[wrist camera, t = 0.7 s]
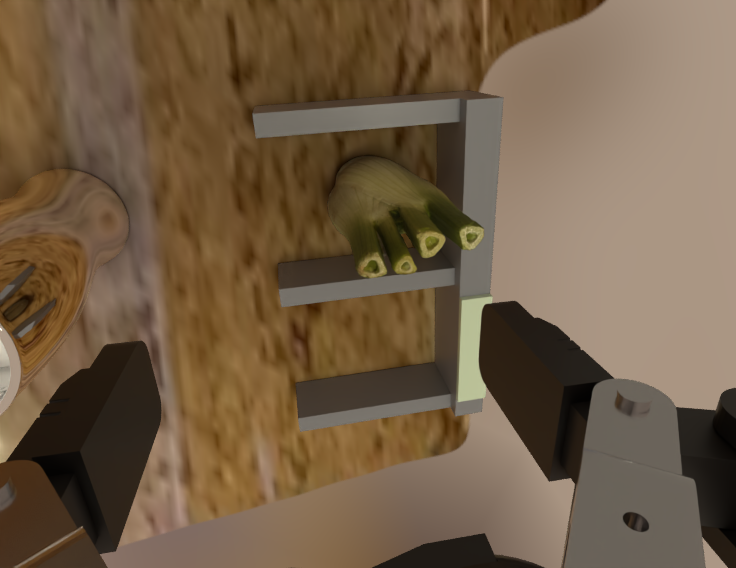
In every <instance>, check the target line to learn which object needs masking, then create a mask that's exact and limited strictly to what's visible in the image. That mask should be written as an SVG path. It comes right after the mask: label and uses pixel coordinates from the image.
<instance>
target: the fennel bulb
mask: <svg viewBox="0 0 736 568" xmlns="http://www.w3.org/2000/svg"><path fill="white" fill-rule="evenodd" d="M327 205H328V214H329V217H330V219H331V221H332V223H333V224H334V226H335V228H336V229H337V230H338V231H339V232H340V233H341V234H342V235H344V236H345V237H346V238H347V239H348V241H349V242H350V245H351V248H352V252H353V257H354V261H355V269H356V271H357V272H358V274H359V276H362V277H365V278H378V277H381V276H384V275H385V274H387V266H386V264H385V259H384V256H385V255H387V256H388V258H389V262H390V263H391V267H392V269H393V270H394V271H395V272H396V273H397V274H401V275H407V274H413V273H415V272H416V270H417V267H416V265H415V263H414V261H413V259H412V256H411V255H410V253H409V251H408V248H407V246H406V244H405V242H404V240H403V237H402V236H401V234H404V233H405V234H406V235H407V236H408V237H409V239H410V240H411V242H412V244H413V246H414V247H415V248H416V250H417V251H418V253H419V254H420V255H421V256H422V258H429V257H432V256H434V255H435V254H436V253H437V252H438V251H439V250H440V249H441V248H442V246H443V244H444V243H445V236H446V237H447V238H449V239H450V240H452V241H453V242H454V243H455V244H457V245H458V246H459V247H460V248H461V249H462V250H469V251H470V250H473V249H475V248H476V247H477V245H478V244H479V243H480V242H481V241H482V239H483V238H484V228H483V227H482V226H481V225H480V224H478V223H477V222H476V221H474V220H472V219H471V218H469V217H468V216H467V215H465V214H464V213H463V212H461V211H460V210H459V209H458V208H457V207H456V206H455V205H454V204H453V203H452V202H451V201H450V200H449V199H448V197H447V196H446V194H444V193H443V192H442V191H441V190H439V189H438V188H436V187H435V186H434V185H433V184H431V183H430V182H428V181H427V180H425V179H422V178H420V177H418V176H416V175H415V174H413V173H411V172H410V171H408V170H407V169H405V168H404V167H402V166H400V165H399V164H397V163H395V162H393V161H391V160H388V159H386V158H382V157H376V156H360V157H356V158H354V159H352V160H350V161H348V162H347V163H345V164H344V165H343V166H342V167H341V168H340V170H339V172H338V173H337V176H336V183H335V186H334V188H333V189H332V191H331V192H330V195H329V199H328V202H327ZM443 234H444V235H445V236H444V235H443Z"/></svg>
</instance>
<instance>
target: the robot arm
mask: <svg viewBox="0 0 736 568" xmlns="http://www.w3.org/2000/svg"><path fill="white" fill-rule="evenodd" d="M479 369H480V374H481V377H482V380H483V382H484V384H485V385H486V387H487V388H488V390H489V391H490V393H491V394H492V396H493V397H494V399H495V400H496V402H497V403H498V405H499V406H500V408H501V409H502V411H503V412H504V414H505V415H506V417H507V418H508V420H509V422H510V423H511V424H512V426H513V428H514V429H515V431H516V432H517V433H518V435H519V437H520V438H521V440H522V441H523V443H524V444H525V446H526V447H527V449H528V450H529V452H530V453H531V455H532V456H533V458H534V459H535V461H536V462H537V464H538V465H539V467H540V468H541V470H542V471H543V473H544V474H545V476H546V477H547V479H548V481H556V480H562V479H568V478H571V479H572V481H573V482H574V483H575V489H574V493H573V499H572V505H571V511H570V517H569V523H568V529H567V535H566V540H565V546H564V552H563V559H562V564H561V568H706V567H705V558H704V550H703V542H702V537H703V538H704V540H705V541H706V542H707V543H708V544H709V546H710V547H711V548H712V549H713V550H714V551H715V553H716V554H717V555H718V556H719V557H720V559H721V560H722V561H723V562H724V563H725V565H726V566H727V567H728V568H736V388H732V389H729V390H726V391H724V392H723V393H722V394H721V396H720V400H719V402H718V406H717V409H716V410H704V409H692V408H679V407H676V406H675V405H674V403H673V402H672V400H671V399H670V398H669V397H668V396H667V395H665V394H664V393H662V392H661V391H659V390H658V389H656V388H654V387H652V386H649V385H647V384H644V383H641V382H637V381H634V380H628V379H614V378H613V377H612V376H611V375H610V374H609V373H608V372H607V371H606V370H604V369H603V368H602V367H601V366H600V365H599V364H598V363H597V362H596V361H595V360H593V359H592V358H591V357H590V356H589V355H588V354H587V353H586V352H585V351H583V350H581V349H580V347H579V346H578V345H577V344H576V343H575V342H574V341H570V338H569V337H568V336H567V335H566V334H565V333H564V332H563V331H561V330H560V329H559V328H558V327H557V326H555V325H553V324H551V323H548V322H547V321H545V320H542V319H540V318H534V317H533V316H532V315H530V314H529V313H528V312H527V311H526V310H525V309H524V308H523V307H522V306H521V305H520V304H519V303H518V302H516V301H508V302H499V303H490V304H485V305H484V307H483V309H482V314H481V329H480V343H479ZM49 401H50V403H49V404H47V405H46V406H45V407H44V409H43V410H42V412H41V413H40V418H37V419H36V420H35V422H34V423H33V424H32V426H31V427H30V429H29V430H28V431H27V433H26V434H25V436H24V437H23V438H22V440H21V441H20V443H19V444H18V445H17V447H16V448H15V450H14V451H13V452H12V454H11V455H10V457H9V458H8V459H7V461H6V462H4V463H0V568H107V566H106V564H105V562H104V561H103V559H102V557H101V556H100V554H102V553H108V552H114V551H116V549H117V547H118V544H119V541H120V538H121V535H122V532H123V529H124V526H125V524H126V521H127V518H128V515H129V512H130V509H131V506H132V503H133V500H134V498H135V495H136V492H137V489H138V486H139V483H140V480H141V477H142V475H143V472H144V469H145V466H146V463H147V460H148V457H149V454H150V451H151V449H152V446H153V443H154V440H155V437H156V434H157V431H158V428H159V425H160V421H161V400H160V395H159V391H158V388H157V384H156V380H155V376H154V372H153V368H152V364H151V360H150V356H149V352H148V349H147V346H146V344H145V343H144V342H143V341H134V342H124V343H115V344H107V345H105V346H104V347H103V349H102V350H101V352H100V353H99V355H98V356H97V358H96V359H95V361H94V362H93V364H92V365H91V367H90V368H87V369H81V370H79V371H78V372H77V373H75V374H74V375H73V376H71V377H70V378H69V379H67V380H66V381H65V382H63V383H62V384H61V385H60V386H59V388H58V389H57V391H56V392H55V393H54V395H53V396H52V398H51V399H50V400H49ZM373 568H544V567H542V566H539V565H537V564H534V563H532V562H528V561H525V560H522V559H518V558H514V557H509V556H503V555H494V553H493V551H492V548H491V546H490V544H489V542H488V539H487V537H486V535H485V534H478V535H473V536H467V537H461V538H455V539H450V540H444V541H438V542H433V543H427V544H423V545H421V546H419V547H416V548H414V549H412V550H410V551H408V552H405V553H403V554H401V555H399V556H397V557H395V558H392V559H390V560H388V561H386V562H383V563H381V564H379V565H377V566H375V567H373Z"/></svg>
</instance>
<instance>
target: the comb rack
mask: <svg viewBox="0 0 736 568" xmlns="http://www.w3.org/2000/svg"><path fill="white" fill-rule="evenodd" d="M502 110H503V97H499V96H494V95H489V94H484V93H479V92H474V91H456V92H442V93H428V94H414V95H400V96H387V97H373V98H359V99H345V100H331V101H317V102H304V103H290V104H276V105H262V106H255V108H254V111H253V113H252V115H253V121H254V128H255V135H256V138H265V137H278V136H290V135H302V134H315V133H327V132H339V131H352V130H364V129H376V128H388V127H401V126H413V125H425V124H437V188H438V189H439V190H441V191H442V192H443V193H444V194H446V196H447V197H448V199H449V200H450V201H451V202H452V203H453V204H454V205H455V206H456V207H457V208H458V209H459V210H460V211H461V212H463V213H464V214H465V215H467V216H468V217H469V218H471V219H472V220H474V221H476V222H477V223H478V224H480V225H481V226H482V227H483V228H484V238H483V239H482V241H481V242H480V243H479V244H478V245H477V247H476V248H475V249H473V250H470V251H469V250H462V249H461V248H460V247H459V246H458V245H457V244H455V243H454V242H453V241H452V240H450V239H449V238H447V237H446V236H445V235H444V234H443V235H444V236H445V243H444V244H443V246H442V248H441V249H440V250H439V251H438V252H437V253H436V254H435V255H434V256H432V257H429V258H422V256H421V255H420V254H419V253H418V251H417V250H416V248H408V251H409V253H410V255H411V256H412V259H413V261H414V263H415V265H416V267H417V270H416V272H415V273H413V274H407V275H401V274H397V273H396V272H395V271H394V270H393V269H392V267H391V263H390V262H389V258H388V256H387V255H385V256H384V259H385V264H386V266H387V274H385V275H384V276H381V277H378V278H365V277H362V276H359V274H358V272H357V271H356V269H355V261H354V257H353V255H347V256H339V257H330V258H322V259H313V260H304V261H296V262H287V263H279V264H278V275H279V294H280V301H281V307H286V306H294V305H302V304H310V303H318V302H325V301H333V300H341V299H349V298H356V297H364V296H372V295H380V294H388V293H395V292H403V291H411V290H419V289H426V288H434V287H435V362H433V363H426V364H419V365H413V366H406V367H400V368H393V369H386V370H380V371H373V372H366V373H360V374H353V375H346V376H340V377H333V378H326V379H320V380H313V381H306V382H300V383H296V393H297V408H298V420H299V427H300V432H301V431H307V430H313V429H319V428H325V427H332V426H338V425H344V424H350V423H356V422H362V421H368V420H374V419H380V418H387V417H393V416H399V415H405V414H411V413H417V412H423V411H429V410H435V409H441V408H448V407H451V409H452V411H453V413H454V415H455V416H459V415H465V414H471V413H477V412H482V403H483V398H485V395H486V385H485V384H484V382H483V380H482V377H481V374H480V369H479V343H480V329H481V314H482V309H483V307H484V305H485V304H490V303H492V295H491V294H490V285H491V272H492V257H493V256H492V255H493V242H494V228H495V213H496V198H497V184H498V169H499V155H500V141H501V126H502V125H501V124H502Z"/></svg>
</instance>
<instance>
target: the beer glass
mask: <svg viewBox="0 0 736 568" xmlns="http://www.w3.org/2000/svg"><path fill="white" fill-rule="evenodd" d="M128 233H129V218H128V214H127V211H126V208H125V206H124V204H123V202H122V201H121V199H120V198H119V196H118V195H117V194H116V193H115V192H114V191H113V190H112V189H111V188H110V187H109V186H108V185H107V184H106V183H104V182H103V181H101V180H100V179H98V178H96V177H94V176H92V175H90V174H88V173H85V172H82V171H78V170H73V169H52V170H47V171H44V172H41V173H39V174H37V175H35V176H33V177H32V178H30V179H29V180H28V181H26V182H25V183H24V184H23V185H22V187H21V188H20V189H19V190H18V192H17V193H16V194H15V196H13V197H11V198H7V199H1V200H0V416H1V415H2V414H3V413H4V412H5V411H6V410H7V409H8V408H9V407H10V405H11V404H12V402H13V401H14V399H15V398H16V397H17V396H18V395H19V394H20V393H21V392H22V391H23V390H24V389H25V388H26V387H27V385H28V384H29V383H30V382H31V381H32V380H33V379H34V378H35V377H36V376H37V375H38V374H39V373H40V371H41V370H42V369H43V368H44V367H45V366H46V365H47V364H48V362H49V361H50V360H51V359H52V357H53V356H54V355H55V354H56V352H57V351H58V350H59V349H60V347H61V346H62V345H63V343H64V342H65V340H66V339H67V337H68V336H69V334H70V332H71V331H72V329H73V328H74V326H75V325H76V323H77V321H78V319H79V316H80V314H81V312H82V310H83V307H84V305H85V303H86V300H87V297H88V294H89V291H90V288H91V285H92V281H93V278H94V275H95V272H96V269H97V268H98V267H100V266H102V265H103V264H105V263H107V262H108V261H110V260H111V259H113V258H114V257H115V256H116V255H117V254H118V253H119V252H120V251H121V250H122V248H123V247H124V245H125V243H126V240H127V237H128Z"/></svg>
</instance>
